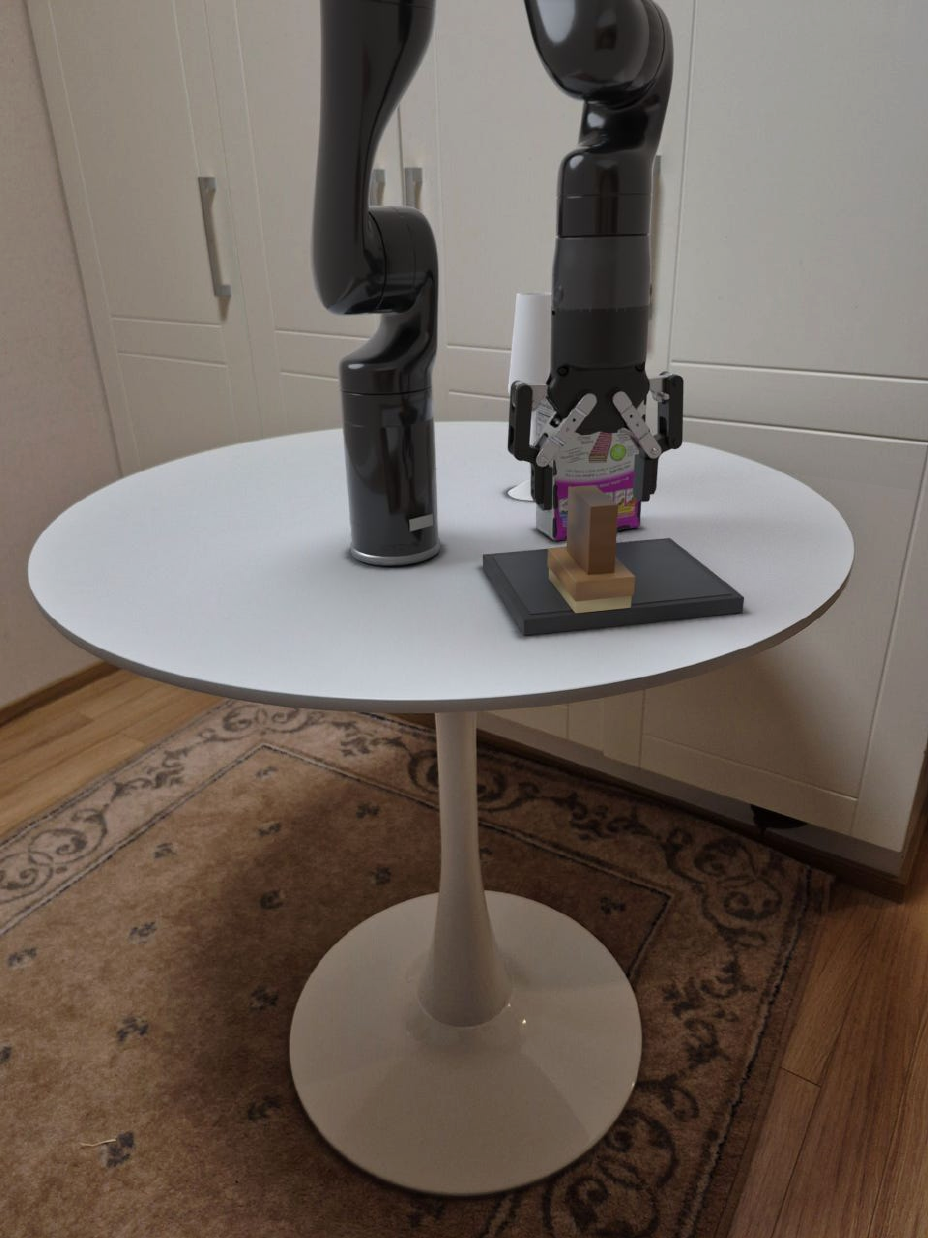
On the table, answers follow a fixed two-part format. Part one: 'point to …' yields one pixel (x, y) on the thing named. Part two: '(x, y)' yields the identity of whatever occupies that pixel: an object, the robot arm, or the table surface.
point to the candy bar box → (590, 473)
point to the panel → (660, 594)
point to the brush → (591, 555)
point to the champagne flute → (530, 356)
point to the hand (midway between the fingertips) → (592, 503)
